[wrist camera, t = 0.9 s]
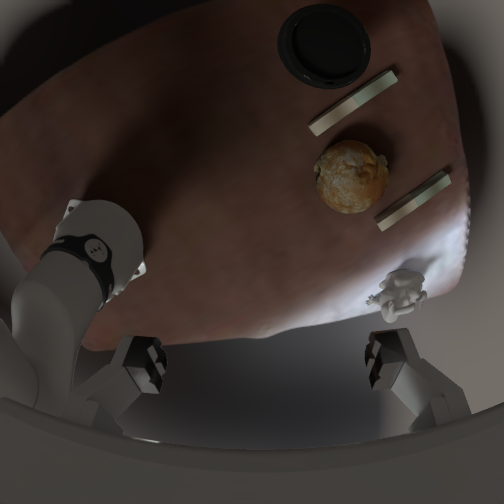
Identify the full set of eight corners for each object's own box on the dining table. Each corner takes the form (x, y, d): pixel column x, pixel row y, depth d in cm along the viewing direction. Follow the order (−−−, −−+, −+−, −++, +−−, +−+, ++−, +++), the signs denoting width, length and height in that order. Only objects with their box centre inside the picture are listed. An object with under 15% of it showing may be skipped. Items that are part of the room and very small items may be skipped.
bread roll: (322, 134, 40) (300, 146, 35) (391, 138, 35) (384, 150, 30) (326, 197, 45) (307, 218, 40) (390, 205, 40) (382, 229, 35)
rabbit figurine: (365, 305, 53) (378, 344, 45) (355, 276, 50) (370, 315, 42) (421, 282, 50) (442, 317, 42) (417, 251, 47) (440, 285, 38)
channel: (377, 225, 44) (381, 231, 43) (306, 124, 37) (309, 126, 35) (445, 178, 39) (451, 182, 37) (385, 70, 32) (391, 70, 30)
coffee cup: (273, 85, 34) (278, 86, 22) (273, 26, 30) (278, -6, 17) (337, 90, 34) (376, 96, 21) (338, 31, 30) (378, 8, 17)
